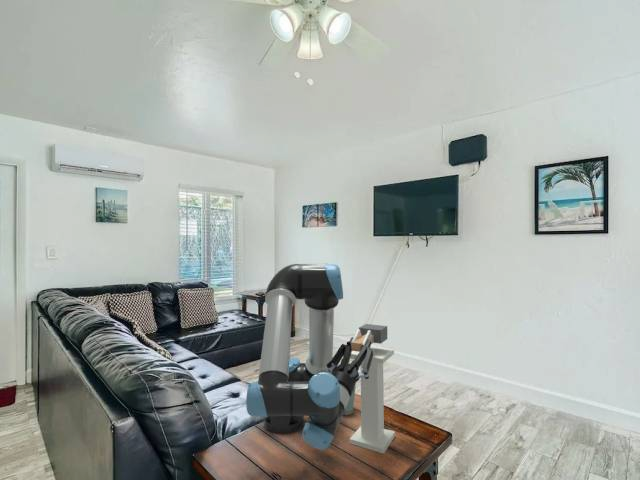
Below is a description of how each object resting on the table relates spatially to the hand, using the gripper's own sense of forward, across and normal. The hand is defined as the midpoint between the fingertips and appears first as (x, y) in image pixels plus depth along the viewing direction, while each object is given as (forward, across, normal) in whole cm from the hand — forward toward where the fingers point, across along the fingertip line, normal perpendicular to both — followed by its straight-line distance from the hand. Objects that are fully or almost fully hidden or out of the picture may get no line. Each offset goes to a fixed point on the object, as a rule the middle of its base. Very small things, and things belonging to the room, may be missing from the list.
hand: (364, 332), depth 113 cm
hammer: (0, 0, -4) cm, 4 cm away
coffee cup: (-1, -17, -43) cm, 46 cm away
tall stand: (-13, 0, -36) cm, 38 cm away
